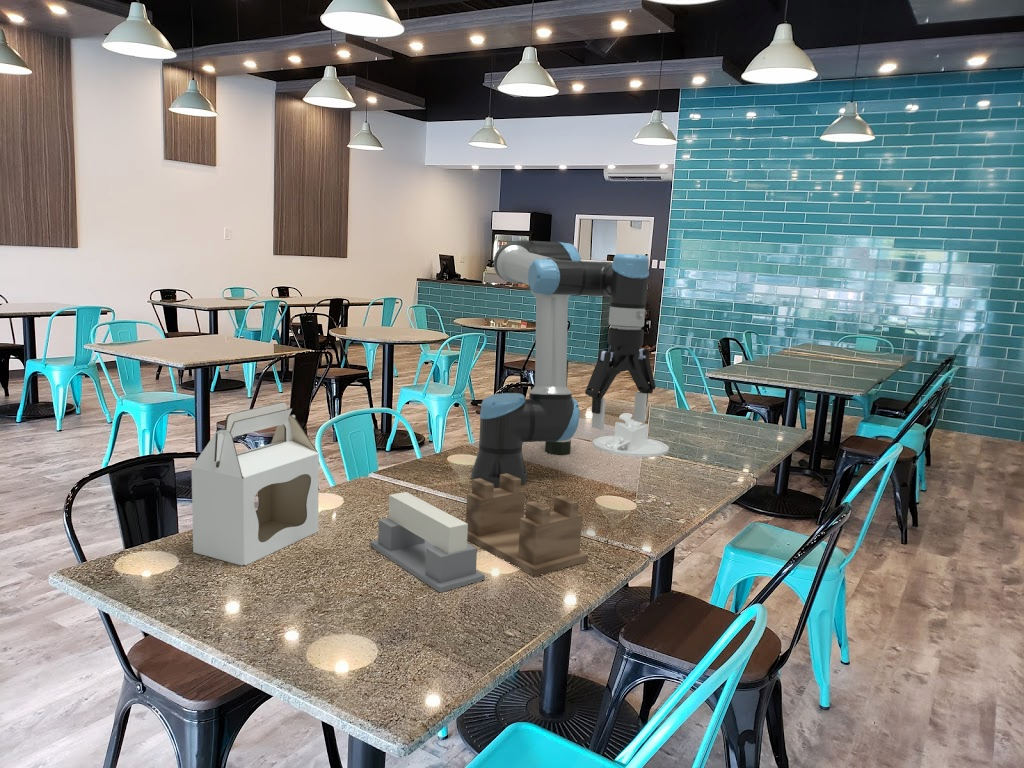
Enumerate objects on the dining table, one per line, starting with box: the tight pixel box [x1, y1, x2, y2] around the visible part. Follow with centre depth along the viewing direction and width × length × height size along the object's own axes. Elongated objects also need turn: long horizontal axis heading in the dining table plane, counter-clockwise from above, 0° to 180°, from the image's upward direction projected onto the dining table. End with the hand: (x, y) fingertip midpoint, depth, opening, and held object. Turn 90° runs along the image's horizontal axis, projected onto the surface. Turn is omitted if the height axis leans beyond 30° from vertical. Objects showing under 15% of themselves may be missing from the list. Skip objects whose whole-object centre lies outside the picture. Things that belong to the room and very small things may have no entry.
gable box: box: [191, 401, 320, 567], centre depth 154 cm, size 22×13×28 cm, turn 155°
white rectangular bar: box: [388, 491, 468, 554], centre depth 148 cm, size 22×4×5 cm, turn 39°
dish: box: [591, 412, 670, 458], centre depth 250 cm, size 25×25×11 cm
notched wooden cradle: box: [465, 473, 589, 577], centre depth 159 cm, size 26×14×12 cm, turn 39°
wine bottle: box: [544, 359, 572, 456], centre depth 238 cm, size 8×8×30 cm
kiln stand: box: [369, 517, 486, 593], centre depth 149 cm, size 26×10×6 cm, turn 39°
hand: (618, 425), depth 166 cm, fingers open, 13 cm apart
